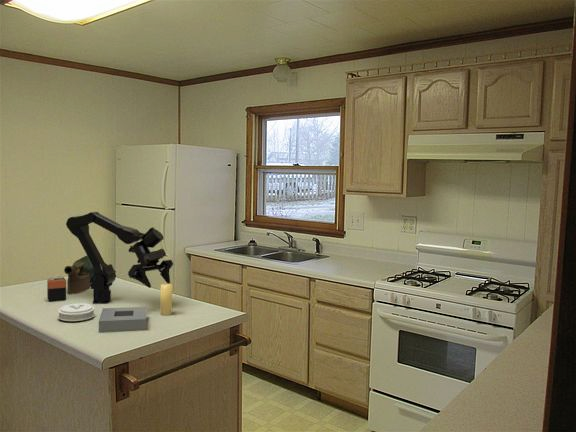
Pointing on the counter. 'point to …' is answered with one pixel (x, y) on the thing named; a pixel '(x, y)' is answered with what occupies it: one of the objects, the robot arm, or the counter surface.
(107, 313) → the socket block
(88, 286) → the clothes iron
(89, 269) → the squash
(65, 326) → the counter surface
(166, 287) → the plug
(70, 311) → the lid
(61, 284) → the battery
